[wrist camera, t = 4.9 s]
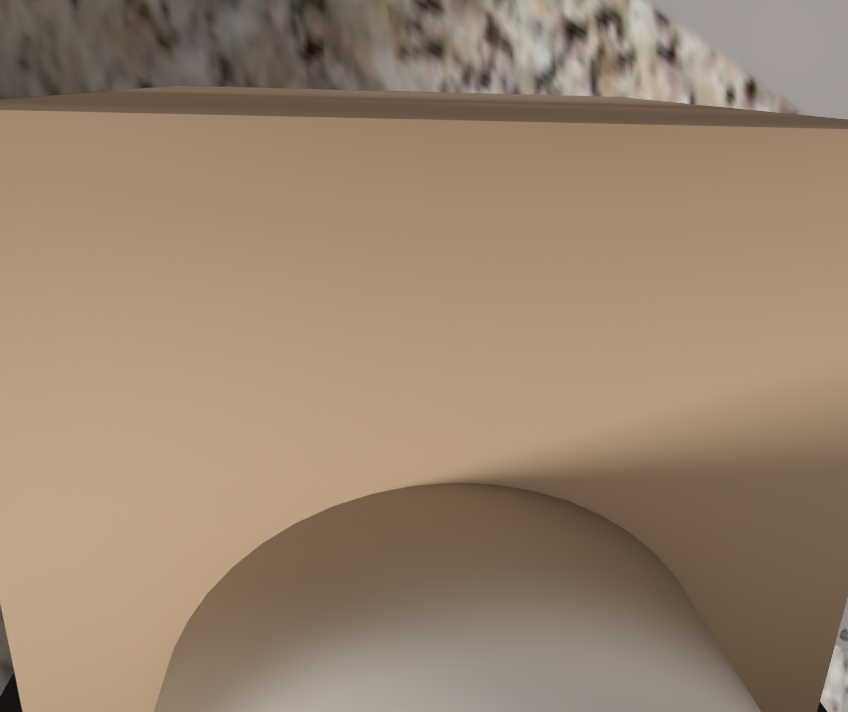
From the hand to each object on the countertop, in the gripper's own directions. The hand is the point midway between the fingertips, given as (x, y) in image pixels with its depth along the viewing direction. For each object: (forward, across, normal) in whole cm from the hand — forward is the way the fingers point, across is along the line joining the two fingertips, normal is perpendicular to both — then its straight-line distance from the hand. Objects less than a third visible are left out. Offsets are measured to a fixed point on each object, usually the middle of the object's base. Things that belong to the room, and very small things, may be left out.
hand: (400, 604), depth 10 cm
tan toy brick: (+2, 0, 0) cm, 2 cm away
